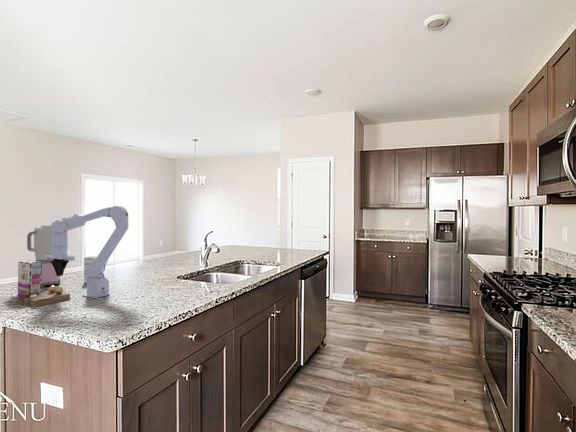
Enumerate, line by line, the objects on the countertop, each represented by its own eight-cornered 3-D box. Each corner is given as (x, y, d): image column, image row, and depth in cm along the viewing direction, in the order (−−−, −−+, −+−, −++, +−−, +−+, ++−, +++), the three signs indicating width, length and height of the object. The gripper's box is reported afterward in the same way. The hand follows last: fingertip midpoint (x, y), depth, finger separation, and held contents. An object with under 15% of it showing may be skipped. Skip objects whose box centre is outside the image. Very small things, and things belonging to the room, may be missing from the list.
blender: (51, 281, 186) (52, 224, 186) (65, 284, 181) (66, 225, 181) (19, 287, 171) (20, 225, 171) (34, 289, 167) (34, 226, 166)
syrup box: (93, 283, 184) (94, 257, 184) (83, 283, 184) (83, 257, 184) (99, 281, 190) (100, 255, 189) (89, 281, 190) (90, 255, 190)
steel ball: (33, 291, 146) (36, 295, 148) (26, 296, 143) (29, 301, 145) (38, 294, 145) (41, 299, 147) (31, 300, 142) (34, 304, 145)
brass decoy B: (58, 292, 152) (58, 285, 152) (50, 293, 149) (50, 286, 149) (54, 291, 154) (54, 284, 154) (46, 292, 151) (46, 285, 151)
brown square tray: (69, 299, 150) (70, 293, 150) (34, 306, 137) (34, 300, 137) (51, 295, 156) (51, 290, 156) (15, 302, 143) (15, 296, 143)
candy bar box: (42, 297, 153) (42, 261, 153) (29, 299, 148) (29, 262, 148) (29, 294, 158) (29, 259, 158) (16, 296, 154) (17, 260, 154)
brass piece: (64, 293, 150) (64, 286, 150) (57, 295, 147) (57, 287, 147) (60, 292, 151) (60, 285, 151) (53, 294, 149) (53, 287, 149)
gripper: (80, 246, 155) (79, 275, 155) (55, 245, 159) (54, 273, 159) (66, 247, 148) (66, 277, 149) (41, 246, 152) (40, 275, 152)
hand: (59, 275), depth 153 cm, fingers closed
